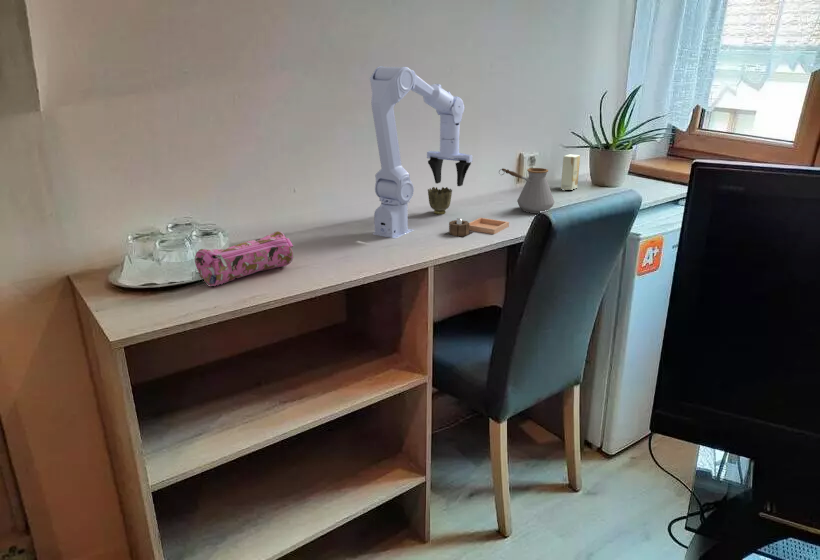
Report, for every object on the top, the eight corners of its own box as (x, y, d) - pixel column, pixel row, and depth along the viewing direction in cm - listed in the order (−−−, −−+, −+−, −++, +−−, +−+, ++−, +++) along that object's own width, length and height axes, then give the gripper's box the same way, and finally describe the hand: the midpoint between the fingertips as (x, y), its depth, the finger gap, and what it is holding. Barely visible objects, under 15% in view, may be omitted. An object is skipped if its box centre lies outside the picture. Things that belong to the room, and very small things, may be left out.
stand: (463, 239, 167) (463, 222, 166) (444, 235, 171) (444, 219, 169) (473, 234, 172) (474, 217, 170) (455, 230, 175) (455, 214, 174)
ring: (462, 237, 168) (462, 226, 167) (446, 234, 171) (446, 223, 169) (471, 232, 172) (472, 221, 171) (455, 229, 175) (455, 219, 174)
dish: (494, 235, 170) (494, 229, 170) (464, 230, 175) (465, 224, 174) (508, 228, 177) (509, 221, 177) (480, 223, 182) (480, 217, 182)
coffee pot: (534, 204, 204) (537, 158, 198) (561, 211, 195) (565, 163, 189) (485, 214, 192) (487, 165, 187) (511, 222, 183) (514, 171, 178)
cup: (452, 211, 195) (452, 186, 192) (451, 217, 188) (451, 191, 186) (428, 211, 196) (428, 186, 193) (426, 217, 189) (426, 191, 186)
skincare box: (571, 191, 220) (574, 157, 216) (560, 190, 222) (562, 156, 218) (577, 188, 225) (580, 154, 221) (566, 187, 227) (569, 153, 223)
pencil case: (214, 293, 133) (208, 254, 130) (194, 282, 139) (189, 244, 136) (298, 269, 146) (295, 233, 143) (277, 260, 153) (274, 226, 150)
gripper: (478, 138, 181) (476, 184, 186) (435, 135, 189) (435, 179, 193) (466, 141, 176) (465, 188, 180) (423, 137, 183) (423, 183, 188)
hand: (448, 184), depth 187 cm, fingers open, 7 cm apart
